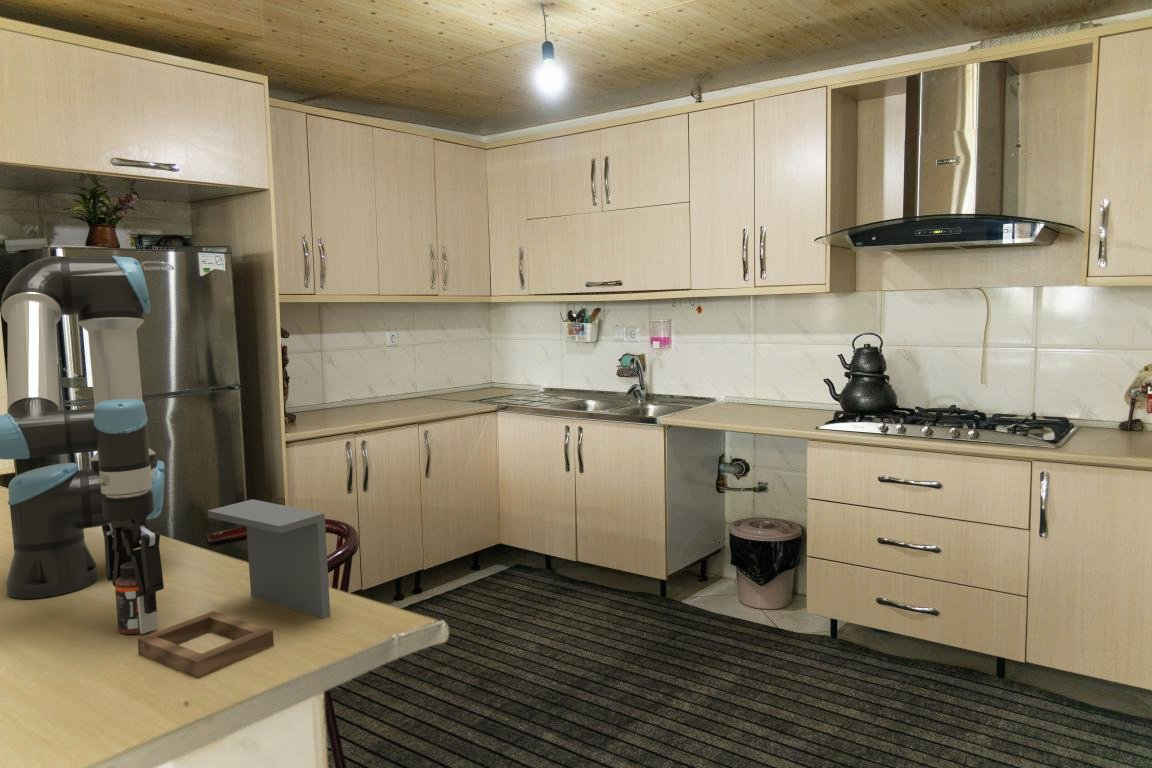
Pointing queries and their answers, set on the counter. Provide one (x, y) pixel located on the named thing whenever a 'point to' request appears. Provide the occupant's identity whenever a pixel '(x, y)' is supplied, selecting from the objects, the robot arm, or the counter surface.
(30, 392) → the robot arm
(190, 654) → the wooden frame
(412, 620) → the counter surface
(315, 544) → the grey l-shaped bracket
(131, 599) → the supplement bottle
